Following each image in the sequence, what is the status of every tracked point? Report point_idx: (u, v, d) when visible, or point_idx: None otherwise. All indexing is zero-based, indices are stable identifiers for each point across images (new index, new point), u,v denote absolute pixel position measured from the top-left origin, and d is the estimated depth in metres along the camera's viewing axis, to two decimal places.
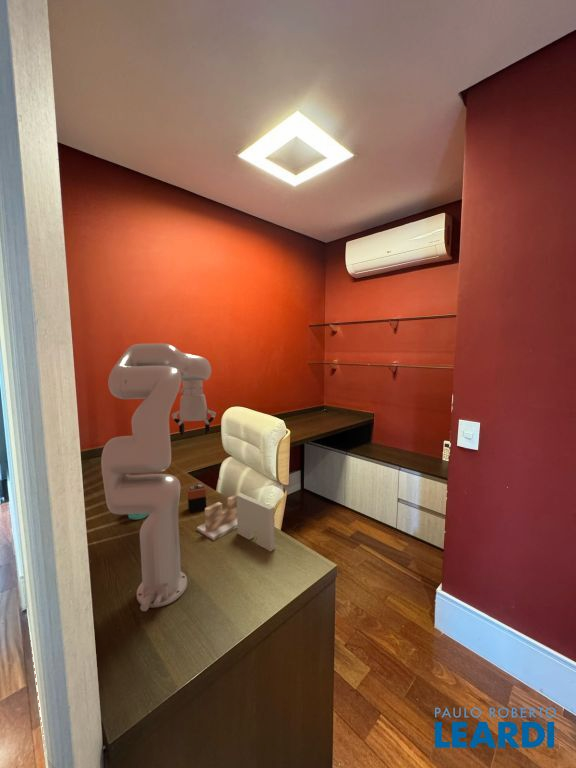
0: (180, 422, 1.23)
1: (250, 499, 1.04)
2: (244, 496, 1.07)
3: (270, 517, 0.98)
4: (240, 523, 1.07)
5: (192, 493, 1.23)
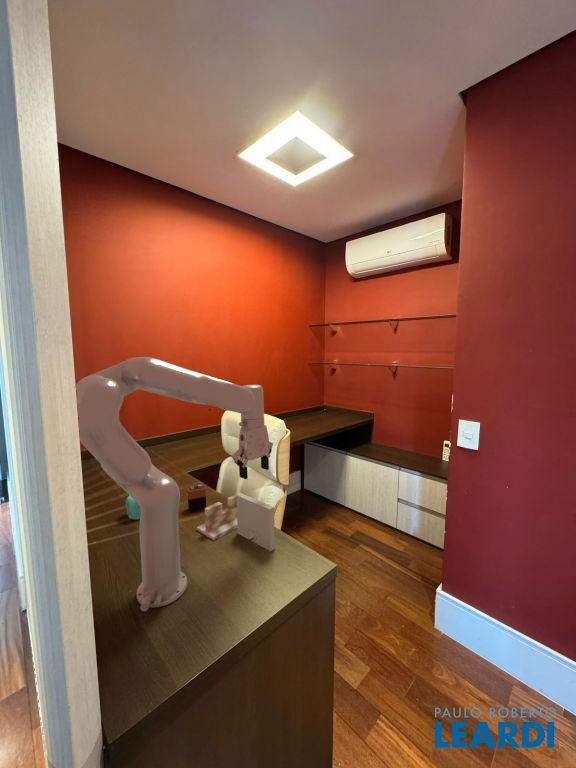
0: (245, 463, 0.98)
1: (250, 499, 1.04)
2: (244, 496, 1.07)
3: (270, 517, 0.98)
4: (240, 523, 1.07)
5: (192, 493, 1.23)
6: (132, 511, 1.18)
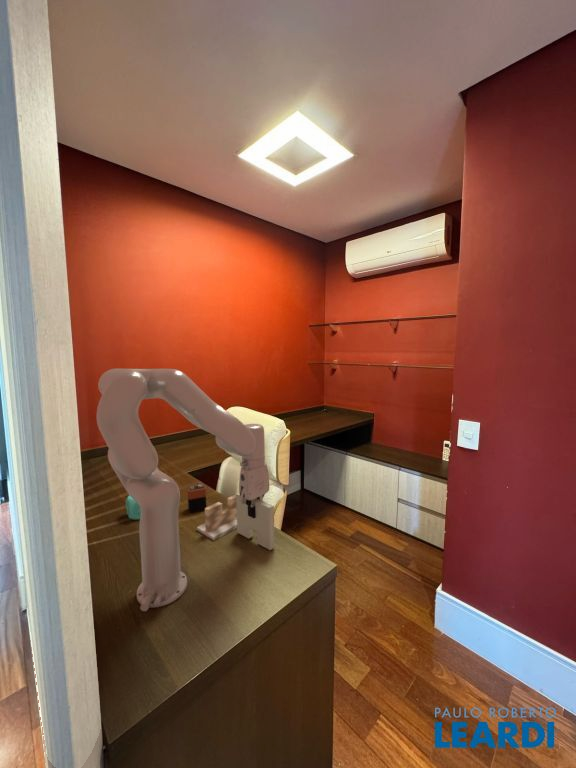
0: (253, 503, 1.01)
1: None
2: None
3: (270, 516, 0.98)
4: (240, 522, 1.07)
5: (192, 493, 1.23)
6: (132, 511, 1.18)
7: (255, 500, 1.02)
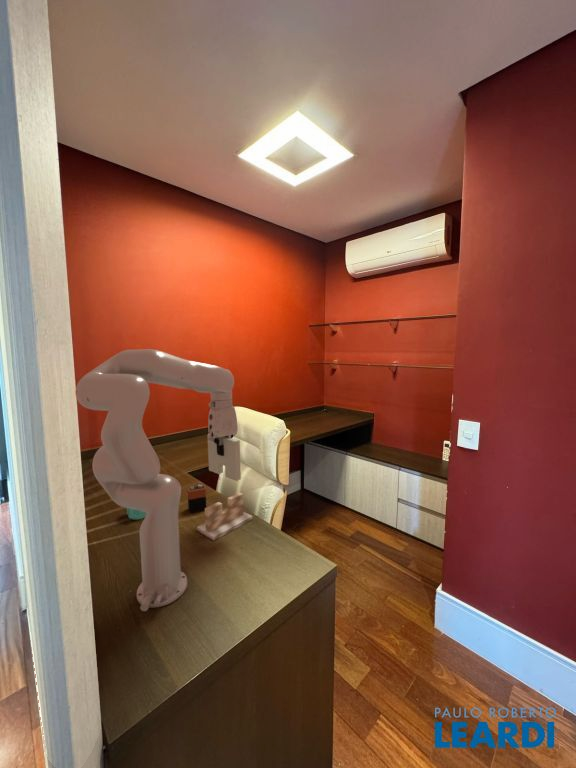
0: (221, 441, 1.10)
1: None
2: None
3: (235, 449, 1.07)
4: (211, 460, 1.16)
5: (192, 493, 1.23)
6: (132, 511, 1.18)
7: (223, 437, 1.11)
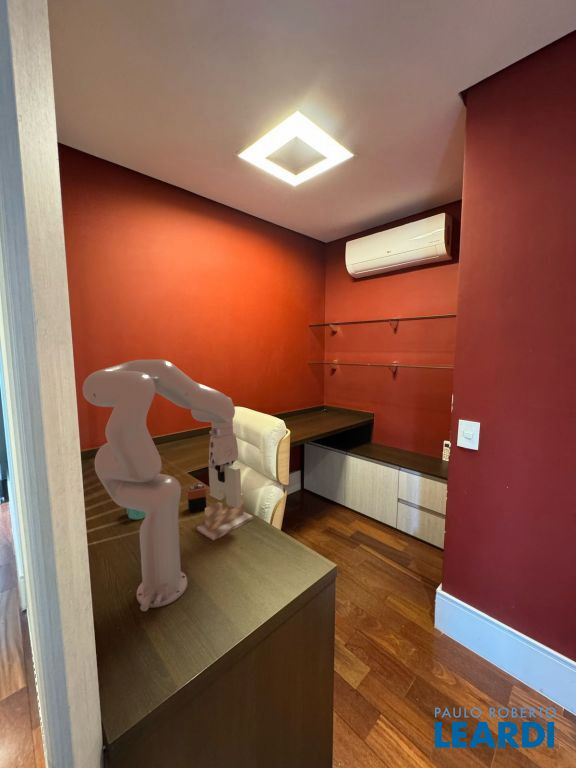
0: (222, 468, 1.11)
1: None
2: None
3: (236, 477, 1.07)
4: (212, 485, 1.17)
5: (192, 493, 1.23)
6: (132, 511, 1.18)
7: (224, 464, 1.12)
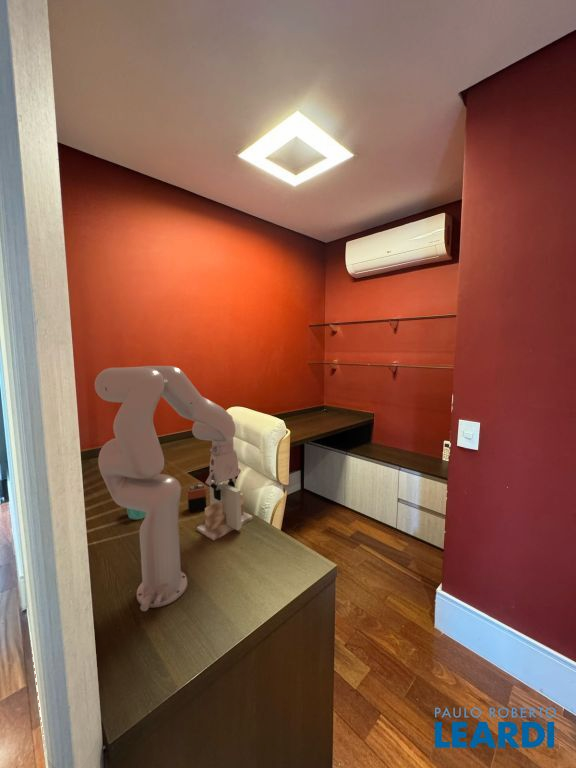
0: (218, 486, 1.10)
1: (220, 483, 1.15)
2: None
3: (236, 499, 1.08)
4: None
5: (192, 493, 1.23)
6: (132, 511, 1.18)
7: (225, 485, 1.13)
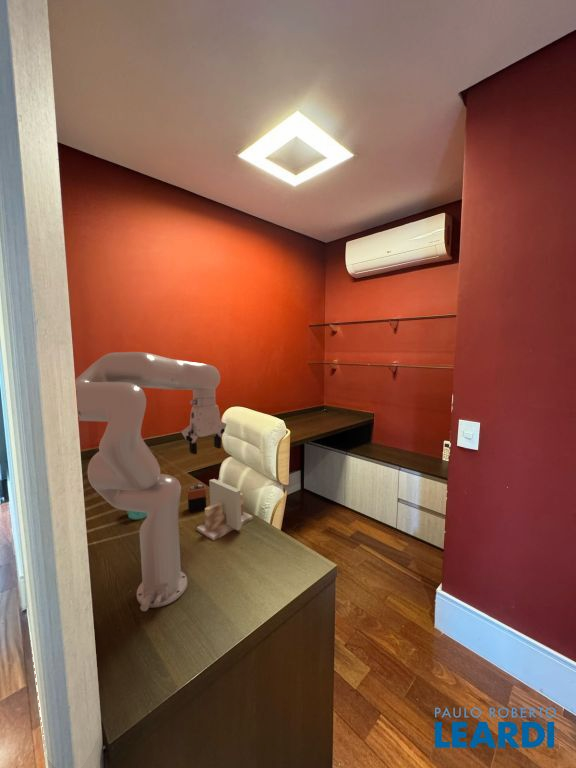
0: (194, 439, 1.04)
1: (220, 483, 1.15)
2: (216, 481, 1.17)
3: (236, 499, 1.08)
4: None
5: (192, 493, 1.23)
6: (132, 511, 1.18)
7: (225, 485, 1.13)
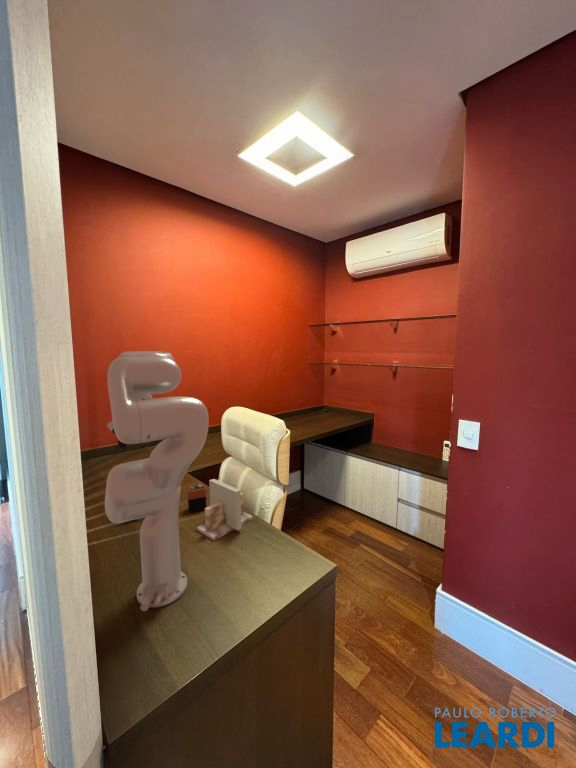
0: None
1: (220, 483, 1.15)
2: (216, 481, 1.17)
3: (236, 499, 1.08)
4: None
5: (192, 493, 1.23)
6: None
7: (225, 485, 1.13)
